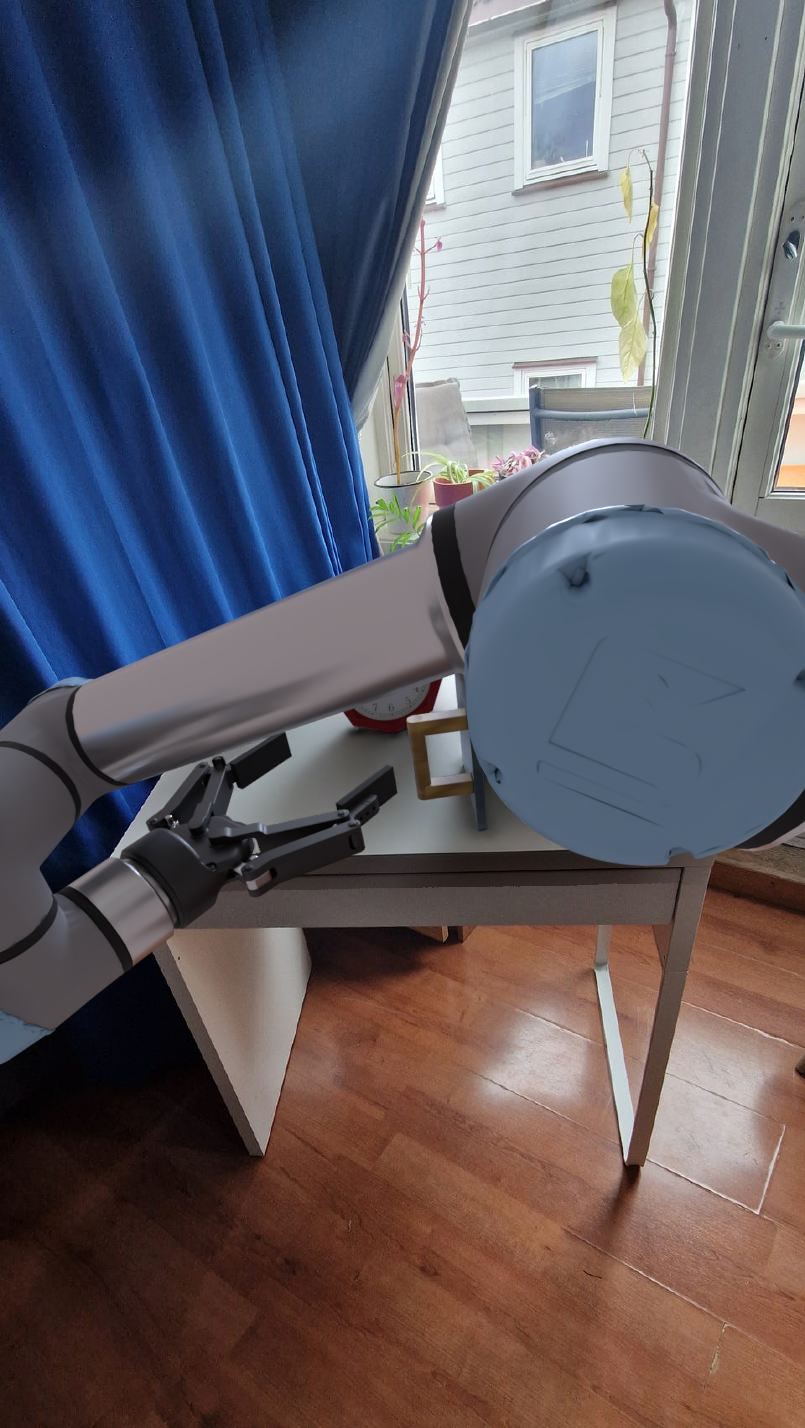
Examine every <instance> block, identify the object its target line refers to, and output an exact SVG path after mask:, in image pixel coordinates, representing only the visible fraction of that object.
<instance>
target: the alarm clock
mask: <svg viewBox="0 0 805 1428" xmlns="http://www.w3.org/2000/svg"><path fill="white" fill-rule="evenodd" d="M443 679H444V678H441V679H439V680H436V681H433V682H430V683H427V684H424V685H421V686H418V687H415V688H412V689H409V690H406V691H403V692H400V693H397V694H394V695H391V696H389V697H386V698H383V699H380V700H377V701H374V702H371V703H368V704H365V705H362V706H359V707H356V708H353V709H350V710H347V711H344V712H342V713H343V714H344V716H345V717H346V718H347V720H348V721H349V722H350V724H351V725H352V726H353V729H354V731H355V730H356V731H359V729H360V728H364V729H370V730H376V731H379V732H387V733H392V734H396V733H398V732H400V731H402V730H403V729H405V728H407V721H406V720H407V718H408V717H410V716H413V715H420V714H427V713H433V711H434V709H435V708H434V707H435V705H436V702H437V698H438V695H439V692H440V688H441V686H442V682H443Z"/></svg>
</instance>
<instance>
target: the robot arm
mask: <svg viewBox="0 0 805 1428" xmlns="http://www.w3.org/2000/svg"><path fill="white" fill-rule="evenodd" d="M456 673H463V674H464V679H465V686H466V705H467V720H468V727H469V733H470V738H471V741H472V745H473V748H474V751H475V753H476V756H477V759H478V761H479V764H480V766H481V767H482V769H483V774H485V776H486V778H487V781H488V783H489V785H490V786H491V788H492V789H493V791H494V792H495V794H496V795H497V796H498V798H499V799H500V800H501V801H502V803H504V805H505V806H506V807H507V809H509V810H510V811H511V812H512V813H513V814H514V815H515V816H516V817H517V818H518V819H519V820H520V821H521V822H522V823H523V824H525V825H526V826H527V827H529V829H531V830H533V831H534V832H535V833H537V834H538V835H540V837H541V836H542V837H543V838H544V839H546V840H548V841H550V842H552V843H554V844H556V845H558V846H559V847H561V848H564V849H566V850H567V851H569V852H572V853H575V854H578V855H579V856H584V857H586V858H590V859H594V860H596V861H601V862H606V863H612V864H618V865H619V864H620V865H628V866H642V867H649V866H651V867H652V866H666V865H667V864H669V862H670V860H671V859H670V858H671V857H673V856H676V855H680V854H684V853H687V852H689V853H690V854H691V857H692V858H694V859H696V860H700V859H703V858H707V857H709V856H714V855H716V854H720V853H722V852H724V851H728V850H730V849H732V848H733V849H735V850H741V851H746V852H758V851H765V850H768V849H771V848H774V847H777V846H779V845H781V844H784V843H785V842H787V841H789V840H791V839H793V838H794V837H796V836H799V835H800V834H802V833H805V535H804V534H801V533H799V532H796V531H794V530H791V529H788V528H786V527H783V526H780V525H777V524H774V523H772V522H769V521H767V520H764V519H762V518H759V517H756V516H755V515H752V514H749V513H747V512H745V511H742V510H740V509H738V508H737V507H735V506H733V505H732V504H731V503H730V501H729V499H728V498H727V497H726V495H725V494H724V492H723V491H722V489H721V487H720V486H719V484H718V483H717V482H716V481H715V480H714V478H713V477H712V476H711V474H710V473H709V472H708V471H707V470H706V468H704V467H703V466H702V465H700V464H699V463H698V462H696V461H695V460H694V459H693V458H692V457H691V456H689V455H688V454H686V453H684V452H682V451H681V450H679V449H677V448H675V447H672V446H670V445H668V444H665V443H662V442H659V441H657V440H653V439H647V438H641V437H635V436H619V437H605V438H598V439H597V438H596V439H591V440H589V441H585V442H582V443H579V444H576V445H573V446H570V447H567V448H565V449H562V450H559V451H558V452H557V451H556V452H555V453H553V454H552V455H549V456H547V457H545V458H543V459H541V460H539V461H537V462H535V463H533V464H531V465H529V466H527V467H525V468H523V469H521V470H519V471H517V472H515V473H513V474H511V475H509V476H506V477H505V478H503V479H501V480H499V481H497V482H495V483H493V484H491V485H488V486H487V487H485V488H483V489H480V490H479V491H476V492H474V493H473V494H471V495H469V496H467V497H464V498H462V499H461V500H458V501H456V502H453V503H451V504H449V505H446V506H444V507H442V508H440V509H438V510H435V511H433V512H431V513H430V514H428V516H427V517H426V520H425V522H424V525H423V527H422V529H421V532H420V535H419V537H418V540H416V541H414V542H412V543H409V544H408V545H405V546H402V547H400V548H397V549H396V550H393V551H391V552H388V553H387V554H384V555H381V556H379V557H377V558H375V559H372V560H370V561H368V562H365V563H363V564H361V565H358V566H356V567H354V568H351V569H349V570H347V571H344V572H342V573H340V574H337V575H335V576H333V577H330V578H328V579H326V580H323V581H321V582H318V583H316V584H314V585H312V586H309V587H307V588H304V589H302V590H300V591H297V592H295V593H293V594H291V595H288V596H286V597H283V598H281V599H279V600H277V601H274V602H272V603H270V604H267V605H264V606H262V607H260V608H258V609H255V610H253V611H250V612H249V613H246V614H244V615H241V616H239V617H237V618H234V619H232V620H230V621H227V622H224V623H223V624H221V625H218V626H216V627H214V628H213V627H212V628H211V629H209V630H207V631H204V632H201V633H199V634H197V635H194V636H192V637H190V638H187V639H185V640H183V641H180V642H178V643H176V644H174V645H171V646H169V647H167V648H164V649H162V650H160V651H157V652H154V653H153V654H150V655H148V656H146V657H143V658H141V659H138V660H135V661H134V662H131V663H129V664H127V665H125V666H122V667H120V668H118V669H116V670H113V671H111V672H108V673H105V674H104V675H101V676H99V677H97V678H88V677H87V678H86V677H79V676H72V677H67V678H64V679H61V680H59V681H57V682H55V683H54V684H53V685H52V686H50V687H49V688H47V689H45V690H43V691H42V692H40V693H39V694H37V695H35V696H34V697H32V698H31V699H30V700H29V701H28V702H27V704H26V706H25V707H24V708H23V709H22V710H21V711H20V712H19V713H18V714H17V715H16V716H15V717H14V718H12V719H11V721H9V722H8V723H7V724H6V725H5V726H4V727H3V728H2V729H0V1065H2V1064H4V1063H6V1062H8V1061H10V1060H11V1059H12V1058H14V1057H16V1056H17V1055H19V1054H20V1053H22V1052H23V1051H25V1050H27V1048H29V1047H30V1046H32V1045H33V1044H35V1043H36V1042H38V1041H39V1040H41V1039H42V1038H44V1037H45V1036H48V1035H51V1034H52V1033H53V1032H55V1031H56V1028H58V1027H59V1026H60V1025H61V1024H63V1023H64V1022H65V1021H66V1020H67V1019H69V1018H70V1017H71V1016H73V1015H74V1014H75V1013H76V1012H77V1011H79V1010H80V1009H81V1008H83V1006H85V1005H86V1003H87V1004H88V1002H89V1001H90V1000H92V999H93V998H94V997H96V995H98V994H99V993H100V992H102V991H103V990H104V989H105V988H107V987H108V986H110V984H112V983H113V982H114V981H116V980H117V979H118V978H120V977H121V976H123V975H124V974H125V973H127V972H129V970H131V969H132V968H133V967H134V966H135V965H137V964H138V963H140V961H142V960H144V959H145V958H146V957H147V956H149V955H150V954H151V953H152V952H154V951H155V950H156V949H158V948H159V947H160V946H162V945H163V944H165V943H166V942H167V941H168V940H170V939H171V938H172V937H173V936H174V935H175V929H176V930H179V929H180V930H182V929H185V928H187V927H188V926H189V925H190V924H192V923H193V922H194V921H196V920H197V919H199V918H200V917H201V916H203V915H204V914H205V913H206V912H207V911H209V910H210V909H211V908H213V907H214V906H215V904H216V903H217V900H218V896H219V894H220V891H221V890H222V889H223V887H225V886H226V885H229V884H230V883H233V882H236V881H239V882H240V883H242V884H243V885H245V886H246V889H247V891H248V894H249V896H250V898H260V897H262V896H264V895H265V894H267V893H268V892H269V891H271V890H272V889H274V888H275V887H277V886H278V885H280V884H282V883H285V882H288V881H290V880H293V879H295V878H297V877H300V876H303V875H306V874H309V873H311V872H313V871H316V870H318V869H321V868H324V867H326V866H330V865H332V864H334V863H336V862H339V861H342V860H345V859H347V858H350V857H353V856H356V855H358V854H360V853H363V852H364V851H365V850H366V843H365V839H364V834H363V830H362V827H363V826H364V825H366V824H367V823H368V822H370V820H372V819H373V818H374V817H375V816H377V815H378V814H379V813H380V810H381V807H382V806H383V805H385V804H386V803H387V802H388V801H390V800H391V799H392V798H393V797H394V796H397V794H398V787H397V781H396V775H395V769H394V768H395V767H394V766H392V765H390V764H385V765H383V767H381V768H380V769H378V770H377V771H376V772H375V773H373V774H372V775H371V776H370V777H368V778H367V779H365V780H364V781H363V782H361V783H360V784H359V785H357V786H356V787H355V788H354V789H353V790H350V792H348V793H347V794H345V795H344V796H343V797H342V798H340V799H339V800H338V801H336V802H335V803H334V804H335V809H336V810H331V811H327V812H323V813H319V814H315V815H310V816H305V817H301V818H296V819H292V820H287V821H282V822H278V823H274V824H268V825H265V824H264V823H262V822H253V823H249V824H247V823H244V822H242V821H238V820H237V821H236V820H233V818H232V817H230V816H228V815H227V813H228V810H229V806H230V803H231V799H232V796H233V792H234V789H235V785H236V788H238V789H240V790H244V789H246V788H248V787H249V786H251V784H253V783H255V782H256V781H258V780H259V779H261V778H262V777H263V776H266V775H267V774H268V773H270V772H271V771H272V770H275V768H277V767H278V766H280V765H281V764H283V763H284V762H286V761H288V760H289V759H290V758H292V757H293V755H292V751H291V747H290V743H289V739H288V736H287V733H286V732H288V731H291V730H294V729H297V728H300V727H303V726H307V725H310V724H312V723H315V722H318V721H321V720H324V719H326V718H329V717H332V716H336V715H338V714H342V713H343V712H344V711H347V710H350V709H353V708H356V707H359V706H362V705H365V704H368V703H371V702H374V701H377V700H380V699H383V698H386V697H389V696H391V695H394V694H397V693H400V692H403V691H406V690H409V689H412V688H415V687H418V686H421V685H424V684H427V683H430V682H433V681H436V680H439V679H441V678H443V679H444V678H447V677H451V676H453V675H455V674H456ZM262 740H263V741H262ZM259 741H261V742H259ZM256 742H259V743H257V744H256V745H255V746H253V747H252V748H250V749H248V750H247V751H245V752H243V753H242V754H240V755H238V756H237V757H235V758H234V759H232V760H230V761H229V762H226V758H225V756H224V755H221V754H223V753H227V752H230V751H232V750H235V749H239V748H241V747H244V746H247V745H250V744H253V743H256ZM209 758H211V760H210V761H211V763H212V766H211V765H210V762H208V761H203V760H206V759H209ZM201 761H202V762H201ZM197 762H199V763H197ZM195 763H197V764H196V766H195V767H194V768H193V769H192V771H190V773H189V774H188V776H187V777H186V779H185V780H184V781H183V782H182V783H181V785H179V787H178V788H177V789H176V790H175V792H174V793H173V795H172V796H171V797H170V798H169V800H168V801H167V802H166V803H165V805H164V806H163V807H162V808H161V809H160V810H158V811H157V812H156V813H154V814H153V815H152V816H150V817H149V818H148V819H147V820H146V821H145V825H146V827H147V829H148V832H147V833H146V834H144V835H143V836H141V837H140V838H138V839H137V840H135V841H134V842H132V843H130V844H129V845H128V846H126V847H125V848H123V849H122V850H121V851H120V855H119V858H118V857H114V856H111V857H108V858H107V859H105V860H104V861H102V862H100V863H98V864H97V865H96V866H95V867H93V868H91V869H90V870H89V871H87V872H86V873H84V874H83V875H81V876H79V877H78V878H77V879H75V880H74V881H72V882H71V883H70V884H68V885H67V886H65V887H63V888H62V889H61V890H59V891H58V892H56V893H53V892H52V890H51V888H50V886H49V885H48V882H47V881H46V879H45V877H44V875H43V873H42V872H41V870H40V868H41V866H42V864H44V862H45V861H46V860H47V858H48V857H49V856H50V855H51V853H52V852H53V851H54V850H55V848H56V847H57V846H58V845H59V844H60V842H62V840H63V839H64V838H65V837H66V835H67V834H68V833H69V831H71V829H72V828H73V827H74V826H75V824H77V822H78V821H79V820H80V819H81V817H82V816H83V815H84V814H85V812H86V811H87V810H88V809H89V808H90V806H91V805H92V804H93V802H95V801H96V800H97V799H99V798H100V797H102V796H104V795H106V794H109V793H113V792H116V791H118V790H121V789H124V788H127V787H129V786H133V785H135V784H138V783H140V782H141V781H144V780H147V779H150V778H153V777H156V776H159V775H161V774H165V773H168V772H171V771H173V770H177V769H179V768H182V767H186V766H188V765H191V764H195ZM234 784H235V785H234ZM254 840H255V841H256V844H257V846H258V850H259V852H255V853H254V851H255V846H256V844H255V841H254Z"/></svg>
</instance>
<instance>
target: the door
mask: <svg viewBox="0 0 805 1428" xmlns="http://www.w3.org/2000/svg"><path fill="white" fill-rule="evenodd" d="M454 683H455V693H456V703H457V708H455V709H448V710H442V711H435V712H430V713H427V714H420V715H413V716H410V717H408V718H407V720H406V721H407V726H406V729H407V735H408V741H409V747H410V754H411V762H412V770H413V774H414V775H413V776H414V781H415V789H416V796H417V798H418V800H420V801H430V800H436V799H442V798H443V799H444V798H451V797H457V796H464V795H469V796H470V801H471V805H472V809H473V814H474V819H475V822H476V828H477V830H478V831H481V830H488V820H487V819H488V818H487V807H486V806H487V805H486V804H487V803H486V791H485V790H486V789H485V778H484V771H483V769H482V767H481V766H480V764H479V761H478V759H477V756H476V753H475V751H474V748H473V745H472V741H471V738H470V733H469V727H468V720H467V705H466V686H465V679H464V674H463V673H456V674H454ZM455 732H459V735H460V748H461V757H462V758H461V759H462V765H463V768H464V773H458V774H453V775H452V774H451V775H445V776H437V777H431V770H430V761H429V756H428V748H427V747H428V746H427V740H426V739H427V738H426V737H427V736H435V735H442V734H449V733H455Z"/></svg>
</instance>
